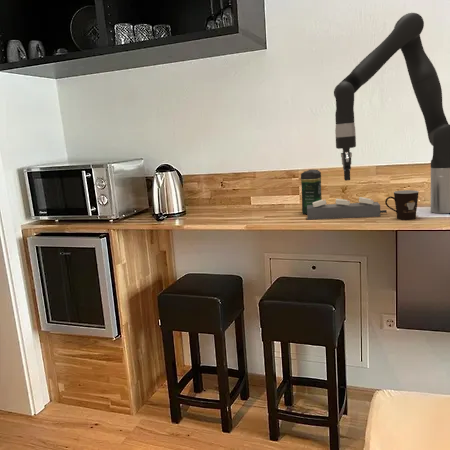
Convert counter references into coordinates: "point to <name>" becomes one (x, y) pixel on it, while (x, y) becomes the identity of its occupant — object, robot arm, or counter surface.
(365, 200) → the near rocker
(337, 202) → the middle rocker
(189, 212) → the counter surface
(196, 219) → the counter surface
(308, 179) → the coffee jar
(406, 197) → the coffee mug
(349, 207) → the power strip
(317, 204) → the far rocker
